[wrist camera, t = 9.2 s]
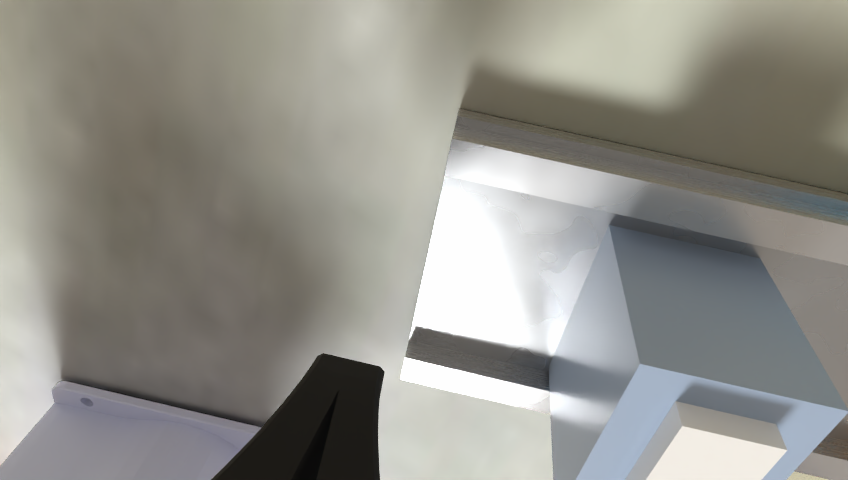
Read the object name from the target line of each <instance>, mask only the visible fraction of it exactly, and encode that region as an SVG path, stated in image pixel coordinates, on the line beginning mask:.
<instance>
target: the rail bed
mask: <svg viewBox="0 0 848 480" xmlns="http://www.w3.org/2000/svg"><path fill="white" fill-rule="evenodd" d="M444 176H445V177H444V181H443V186H442V191H441V195H440V200H439V204H438V209H437V214H436V218H435V223H434V228H433V232H432V237H431V242H430V246H429V251H428V255H427V260H426V265H425V269H424V274H423V279H422V283H421V288H420V293H419V297H418V302H417V306H416V311H415V316H414V320H413V325H412V330H411V334H410V339H409V343H408V347H407V351H406V355H405V360H404V364H403V369H402V374H401V378H400V379H401V380H405V381H409V382H414V383H418V384H422V385H427V386H431V387H435V388H439V389H444V390H448V391H452V392H457V393H461V394H465V395H469V396H474V397H478V398H482V399H487V400H491V401H495V402H499V403H504V404H508V405H512V406H517V407H521V408H525V409H529V410H534V411H538V412H542V413H547V414H551V412H550V389H549V365H550V363H551V360H552V358H553V356H554V353H555V351H556V348H557V346H558V344H559V341H560V339H561V337H562V334H563V332H564V330H565V327H566V325H567V323H568V320H569V318H570V315H571V313H572V311H573V308H574V306H575V304H576V301H577V299H578V297H579V294H580V292H581V289H582V287H583V285H584V282H585V280H586V278H587V275H588V273H589V271H590V268H591V266H592V263H593V261H594V259H595V256H596V254H597V252H598V249H599V247H600V245H601V242H602V240H603V238H604V235H605V233H606V230H607V228H608V226H609V225H612V226H616V227H621V228H625V229H630V230H634V231H639V232H643V233H648V234H652V235H657V236H661V237H666V238H671V239H675V240H680V241H684V242H689V243H693V244H698V245H702V246H707V247H711V248H716V249H720V250H725V251H729V252H734V253H739V254H743V255H748V256H752V257H757V258H760V259H761V261H762V262H763V264H764V266H765V267H766V269H767V271H768V273H769V274H770V276H771V278H772V279H773V281H774V283H775V285H776V286H777V288H778V290H779V291H780V293H781V295H782V297H783V298H784V300H785V302H786V303H787V305H788V307H789V309H790V310H791V312H792V314H793V316H794V317H795V319H796V321H797V322H798V324H799V326H800V328H801V329H802V331H803V333H804V334H805V336H806V338H807V340H808V341H809V343H810V345H811V346H812V348H813V350H814V352H815V353H816V355H817V357H818V359H819V360H820V362H821V364H822V365H823V367H824V369H825V371H826V372H827V374H828V376H829V377H830V379H831V381H832V383H833V384H834V386H835V388H836V389H837V391H838V393H839V395H840V396H841V398H842V400H843V401H844V403H845V405H846V407H847V408H848V194H846V193H842V192H837V191H833V190H828V189H823V188H819V187H814V186H810V185H805V184H801V183H796V182H792V181H787V180H783V179H778V178H773V177H769V176H764V175H760V174H755V173H751V172H746V171H742V170H737V169H732V168H728V167H723V166H719V165H714V164H710V163H705V162H701V161H696V160H692V159H687V158H682V157H678V156H673V155H669V154H664V153H660V152H655V151H651V150H646V149H642V148H637V147H632V146H628V145H623V144H619V143H614V142H610V141H605V140H601V139H596V138H592V137H587V136H582V135H578V134H573V133H569V132H564V131H560V130H555V129H551V128H546V127H542V126H537V125H532V124H528V123H523V122H519V121H514V120H510V119H505V118H501V117H496V116H491V115H487V114H482V113H478V112H473V111H469V110H464V109H459V113H458V116H457V121H456V126H455V129H454V133H453V137H452V141H451V146H450V151H449V155H448V160H447V165H446V169H445V174H444ZM795 472H799V473H804V474H808V475H812V476H816V477H821V478H825V479H829V480H848V413H847V414H846V416H845V417H844V418H843V419H842V420H841V421H840V422H839V423H838V424H837V425H836V426H835V427H834V429H833V430H832V431H831V432H830V433H829V434H828V435H827V436H826V437H825V438H824V439H823V440H822V442H821V443H820V444H819V445H818V446H817V447H816V448H815V449H814V450H813V451H812V452H811V453H810V454H809V456H808V457H807V458H806V459H805V460H804V461H803V462H802V463H801V464H800V465H799V466H798V467H797V469H796V470H795Z"/></svg>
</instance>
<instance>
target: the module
mask: <svg viewBox="0 0 848 480" xmlns="http://www.w3.org/2000/svg"><path fill="white" fill-rule="evenodd" d="M549 389H550V412H551V435H552V458H553V480H786V479H787V478H788V477H789V476H790V475H791V474H792V473H793V472H794V471H795V470H796V469H797V467H798V466H799V465H800V464H801V463H802V462H803V461H804V460H805V459H806V458H807V457H808V456H809V454H810V453H811V452H812V451H813V450H814V449H815V448H816V447H817V446H818V445H819V444H820V443H821V442H822V440H823V439H824V438H825V437H826V436H827V435H828V434H829V433H830V432H831V431H832V430H833V429H834V427H835V426H836V425H837V424H838V423H839V422H840V421H841V420H842V419H843V418H844V417H845V416H846V414H847V413H848V408H847V407H846V405H845V403H844V401H843V400H842V398H841V396H840V395H839V393H838V391H837V389H836V388H835V386H834V384H833V383H832V381H831V379H830V377H829V376H828V374H827V372H826V371H825V369H824V367H823V365H822V364H821V362H820V360H819V359H818V357H817V355H816V353H815V352H814V350H813V348H812V346H811V345H810V343H809V341H808V340H807V338H806V336H805V334H804V333H803V331H802V329H801V328H800V326H799V324H798V322H797V321H796V319H795V317H794V316H793V314H792V312H791V310H790V309H789V307H788V305H787V303H786V302H785V300H784V298H783V297H782V295H781V293H780V291H779V290H778V288H777V286H776V285H775V283H774V281H773V279H772V278H771V276H770V274H769V273H768V271H767V269H766V267H765V266H764V264H763V262H762V261H761V259H760V258H757V257H752V256H748V255H743V254H739V253H734V252H729V251H725V250H720V249H716V248H711V247H707V246H702V245H698V244H693V243H689V242H684V241H680V240H675V239H671V238H666V237H661V236H657V235H652V234H648V233H643V232H639V231H634V230H630V229H625V228H621V227H616V226H612V225H609V226H608V228H607V230H606V233H605V235H604V238H603V240H602V242H601V245H600V247H599V249H598V252H597V254H596V256H595V259H594V261H593V263H592V266H591V268H590V271H589V273H588V275H587V278H586V280H585V282H584V285H583V287H582V289H581V292H580V294H579V297H578V299H577V301H576V304H575V306H574V308H573V311H572V313H571V315H570V318H569V320H568V323H567V325H566V327H565V330H564V332H563V334H562V337H561V339H560V341H559V344H558V346H557V348H556V351H555V353H554V356H553V358H552V360H551V363H550V365H549Z"/></svg>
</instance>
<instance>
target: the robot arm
mask: <svg viewBox="0 0 848 480" xmlns="http://www.w3.org/2000/svg"><path fill="white" fill-rule="evenodd" d="M383 377H384V371H383V370H382V368H381V367H379V366H375V365H371V364H366V363H362V362H358V361H354V360H349V359H345V358H341V357H337V356H332V355H328V354H324V353H323V354H321V355H319V356H317V358H316V359H315V361H314V363H313V364H312V366H311V367H310V368H309V370H308V371H307V373H306V374H305V376H304V377H303V378H302V380H301V381H300V382H299V384H298V385H297V386H296V387H295V389H294V390H293V391H292V392H291V394H290V395H289V396H288V397H287V399H286V400H285V401H284V402H283V404H282V405H281V406H280V407H279V408H278V409H277V411H276V412H275V413H274V414H273V415H272V416H271V417H270V419H269V420H268V421H267V422H266V423H265V424H264V425H263V427H257V426H253V425H249V424H245V423H241V422H236V421H232V420H228V419H224V418H219V417H215V416H211V415H207V414H203V413H198V412H194V411H190V410H186V409H182V408H177V407H173V406H169V405H165V404H160V403H156V402H152V401H148V400H144V399H139V398H135V397H131V396H127V395H122V394H118V393H114V392H110V391H106V390H101V389H97V388H93V387H89V386H85V385H80V384H76V383H72V382H68V381H60V382H58V383H57V384H56V385H55V386H54V388H53V389H52V395H53V399H54V402H55V403H54V404H53V405H52V407H51V408H50V409H49V410H48V411H47V412H46V413H45V415H44V416H43V417H42V418H41V419H40V420H39V422H38V423H37V424H36V425H35V426H34V427H33V429H32V430H31V431H30V432H29V433H28V434H27V436H26V437H25V438H24V439H23V440H22V441H21V442H20V444H19V445H18V446H17V447H16V448H15V449H14V451H13V452H12V453H11V454H10V455H9V456H8V458H7V459H6V460H5V461H4V462H3V463H2V464H1V466H0V480H380V474H379V453H378V412H379V398H380V393H381V388H382V382H383Z"/></svg>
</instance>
